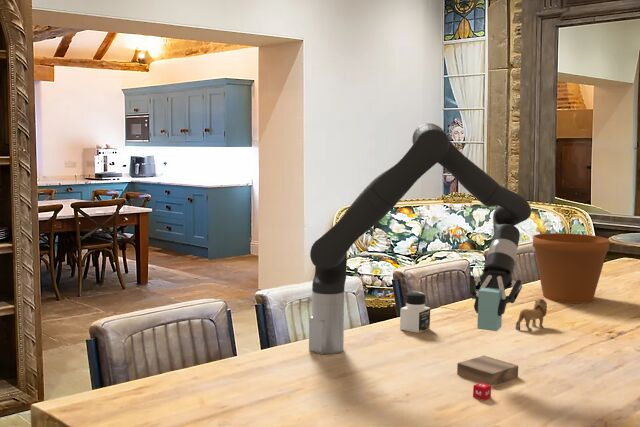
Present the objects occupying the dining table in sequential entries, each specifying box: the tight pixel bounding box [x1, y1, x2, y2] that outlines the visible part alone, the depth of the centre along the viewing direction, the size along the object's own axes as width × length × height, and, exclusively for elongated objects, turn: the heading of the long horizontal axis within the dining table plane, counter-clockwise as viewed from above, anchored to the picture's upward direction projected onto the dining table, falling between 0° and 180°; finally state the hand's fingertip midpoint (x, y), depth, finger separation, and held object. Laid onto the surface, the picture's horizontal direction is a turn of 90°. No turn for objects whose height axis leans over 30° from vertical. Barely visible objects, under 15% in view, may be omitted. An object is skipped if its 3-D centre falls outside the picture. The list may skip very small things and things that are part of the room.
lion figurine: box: [515, 298, 548, 331], centre depth 238 cm, size 15×5×9 cm, turn 133°
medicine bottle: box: [399, 291, 431, 334], centre depth 234 cm, size 7×7×12 cm
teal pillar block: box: [476, 287, 503, 332], centre depth 188 cm, size 5×5×10 cm
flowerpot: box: [532, 232, 610, 304], centre depth 284 cm, size 28×28×24 cm
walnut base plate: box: [456, 355, 519, 387], centre depth 190 cm, size 11×11×3 cm
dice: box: [472, 382, 492, 401], centre depth 174 cm, size 3×3×3 cm
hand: (488, 312), depth 187 cm, fingers closed on teal pillar block, 5 cm apart
